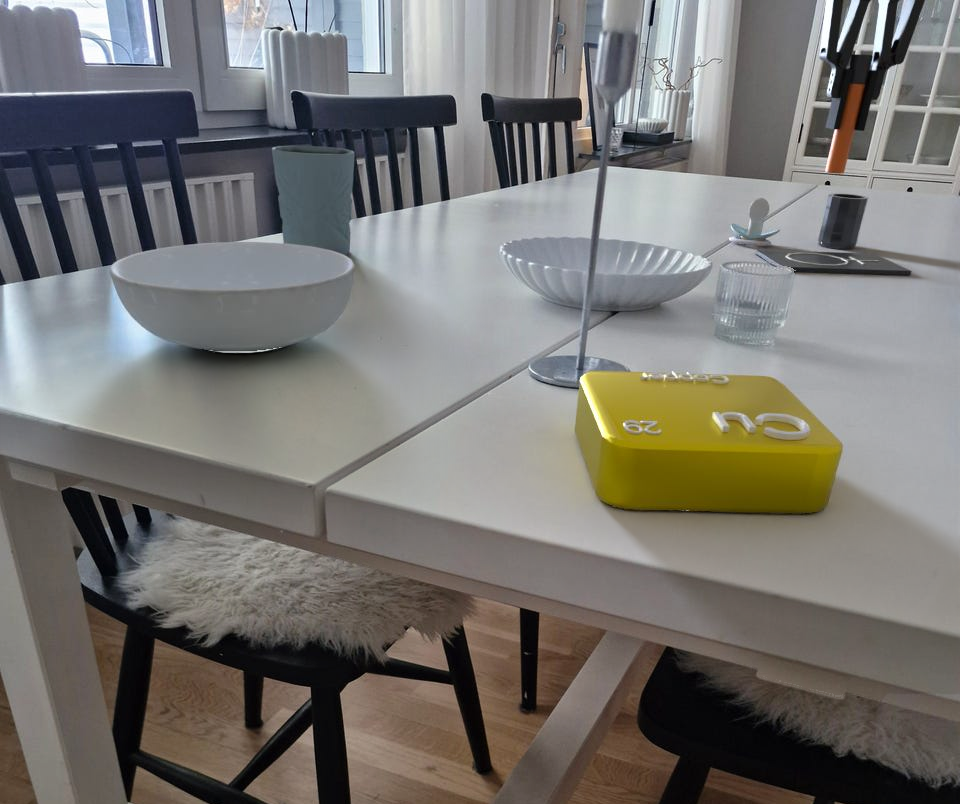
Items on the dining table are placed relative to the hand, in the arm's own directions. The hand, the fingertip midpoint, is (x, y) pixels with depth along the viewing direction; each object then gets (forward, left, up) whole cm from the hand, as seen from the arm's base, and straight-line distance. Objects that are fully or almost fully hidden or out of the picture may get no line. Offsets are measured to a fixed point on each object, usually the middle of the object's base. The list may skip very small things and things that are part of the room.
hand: (844, 128), depth 115 cm
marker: (0, 0, -5) cm, 5 cm away
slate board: (-3, -2, -17) cm, 17 cm away
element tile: (+36, +72, -17) cm, 82 cm away
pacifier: (+4, -16, -17) cm, 24 cm away
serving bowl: (+71, +44, -17) cm, 85 cm away
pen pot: (-10, -17, -17) cm, 26 cm away
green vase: (+68, +1, -17) cm, 70 cm away
